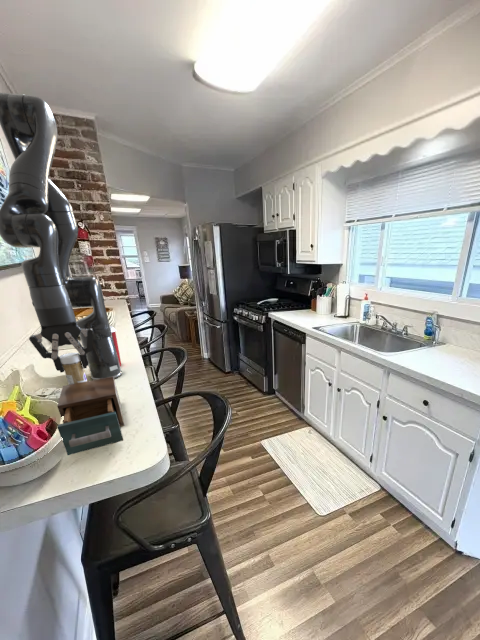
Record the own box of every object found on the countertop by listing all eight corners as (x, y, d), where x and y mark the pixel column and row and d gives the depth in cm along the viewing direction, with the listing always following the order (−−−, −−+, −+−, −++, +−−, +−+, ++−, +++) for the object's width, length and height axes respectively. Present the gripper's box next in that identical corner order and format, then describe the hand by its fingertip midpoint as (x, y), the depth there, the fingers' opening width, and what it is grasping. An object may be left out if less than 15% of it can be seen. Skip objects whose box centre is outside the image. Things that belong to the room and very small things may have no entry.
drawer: (124, 449, 65) (116, 421, 62) (66, 466, 60) (54, 436, 58) (120, 417, 78) (113, 393, 76) (71, 428, 74) (63, 403, 71)
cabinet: (124, 425, 76) (115, 394, 73) (69, 439, 71) (57, 406, 68) (121, 404, 87) (113, 376, 84) (72, 415, 82) (62, 385, 79)
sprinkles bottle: (93, 401, 86) (79, 355, 80) (74, 405, 83) (58, 358, 78) (92, 395, 89) (79, 350, 84) (74, 399, 87) (59, 354, 82)
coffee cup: (123, 361, 124) (114, 324, 118) (125, 367, 117) (116, 328, 111) (99, 365, 120) (88, 327, 114) (100, 371, 113) (89, 331, 107)
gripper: (87, 300, 82) (103, 360, 89) (19, 305, 76) (43, 370, 82) (86, 303, 76) (104, 368, 83) (12, 310, 70) (39, 379, 76)
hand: (73, 369), depth 83 cm, fingers closed on sprinkles bottle, 4 cm apart
